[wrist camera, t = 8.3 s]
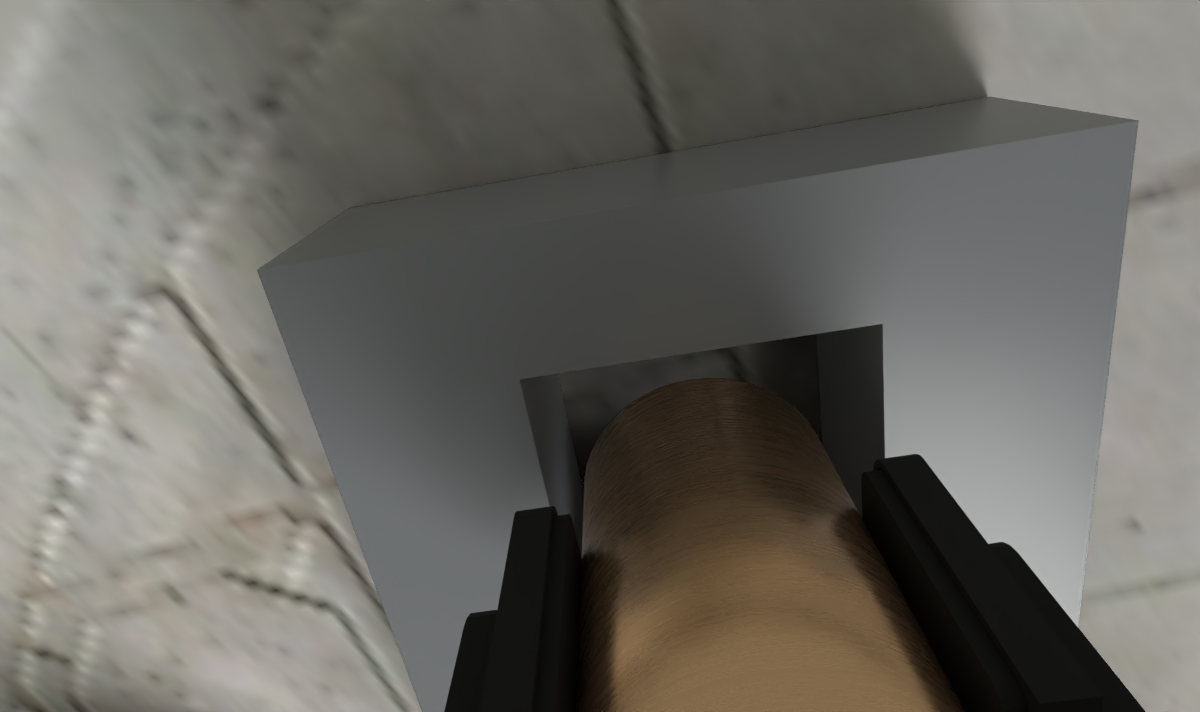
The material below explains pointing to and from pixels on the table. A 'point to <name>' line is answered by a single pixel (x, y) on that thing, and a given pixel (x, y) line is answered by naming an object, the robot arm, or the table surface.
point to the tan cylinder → (736, 569)
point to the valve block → (719, 330)
